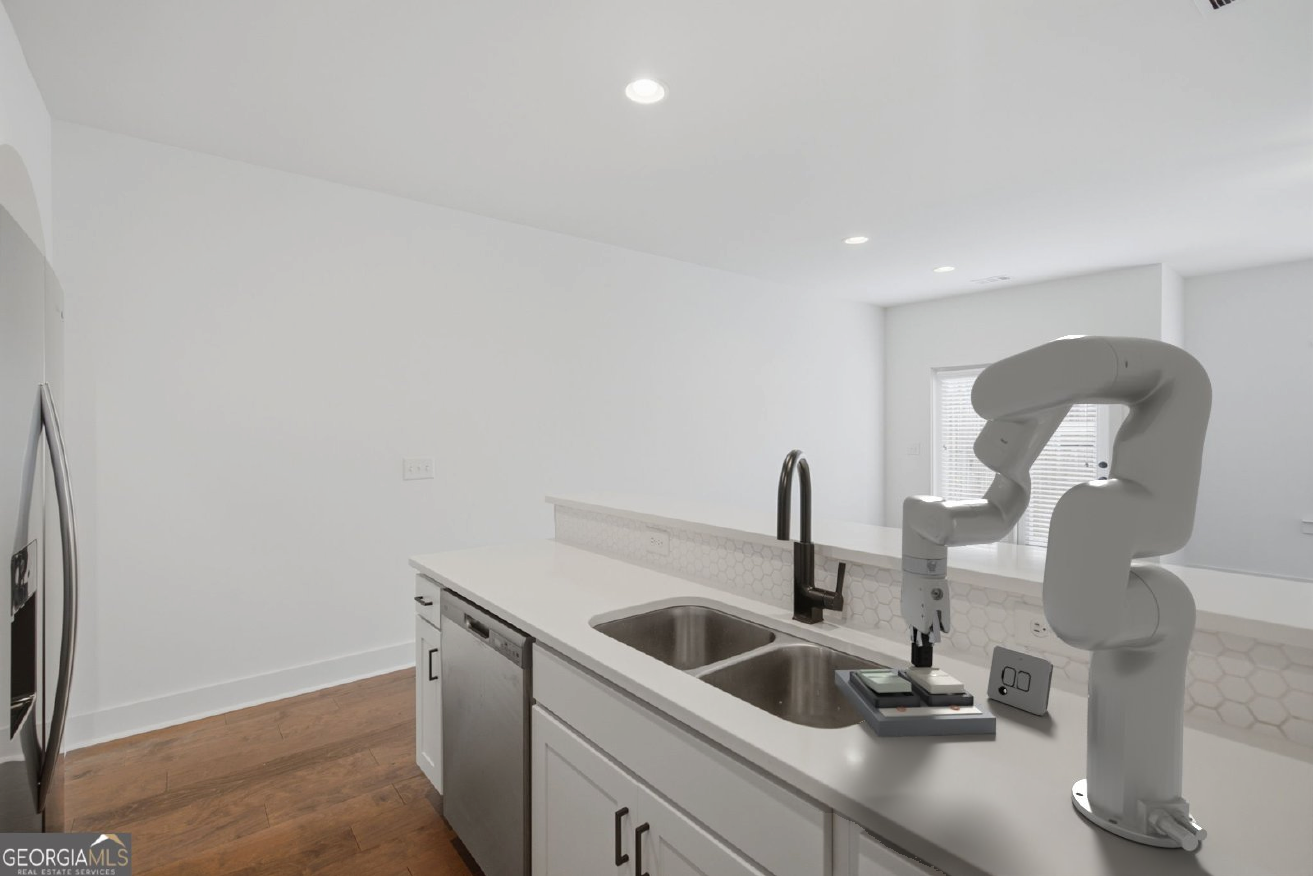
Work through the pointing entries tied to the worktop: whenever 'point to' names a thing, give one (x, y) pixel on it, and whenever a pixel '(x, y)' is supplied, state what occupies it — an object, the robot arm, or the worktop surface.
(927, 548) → the robot arm
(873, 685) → the rocker sage
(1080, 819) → the worktop surface
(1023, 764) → the worktop surface
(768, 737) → the worktop surface
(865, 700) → the switch panel
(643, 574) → the worktop surface
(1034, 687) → the electrical switch
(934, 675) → the rocker ivory
